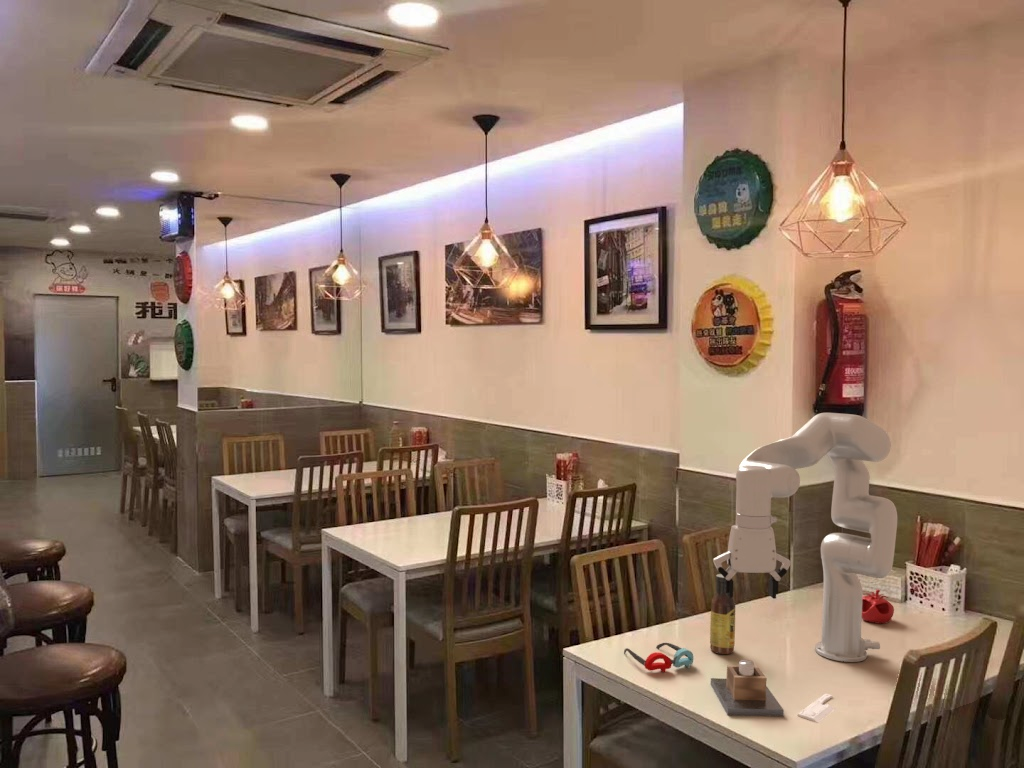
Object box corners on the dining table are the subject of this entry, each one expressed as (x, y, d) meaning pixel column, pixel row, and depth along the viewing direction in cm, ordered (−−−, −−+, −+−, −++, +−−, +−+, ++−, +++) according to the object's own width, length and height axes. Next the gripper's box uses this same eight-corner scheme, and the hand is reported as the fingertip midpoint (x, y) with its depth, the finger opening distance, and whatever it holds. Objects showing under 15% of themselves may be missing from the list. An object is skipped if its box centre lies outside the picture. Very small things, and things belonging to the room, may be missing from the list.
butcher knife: (847, 703, 182) (847, 699, 182) (819, 725, 171) (820, 720, 171) (825, 696, 186) (825, 691, 186) (796, 717, 175) (796, 712, 175)
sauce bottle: (735, 656, 208) (737, 580, 207) (710, 654, 209) (712, 578, 209) (733, 647, 215) (735, 573, 214) (709, 645, 216) (711, 571, 215)
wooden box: (756, 687, 186) (757, 665, 185) (765, 700, 179) (766, 678, 178) (726, 686, 186) (726, 665, 185) (734, 699, 179) (734, 677, 178)
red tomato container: (861, 613, 246) (861, 583, 246) (896, 619, 240) (897, 588, 240) (853, 621, 238) (854, 589, 238) (889, 628, 232) (890, 595, 232)
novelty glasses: (649, 677, 195) (649, 656, 195) (617, 655, 208) (618, 636, 208) (696, 669, 200) (697, 649, 200) (662, 648, 214) (663, 630, 214)
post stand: (761, 685, 190) (762, 650, 190) (783, 716, 174) (784, 677, 174) (710, 684, 190) (711, 648, 190) (727, 715, 174) (728, 676, 174)
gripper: (786, 518, 185) (783, 592, 186) (710, 517, 185) (708, 590, 186) (797, 525, 178) (794, 602, 178) (718, 524, 178) (716, 601, 179)
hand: (750, 596), depth 182 cm, fingers open, 9 cm apart
